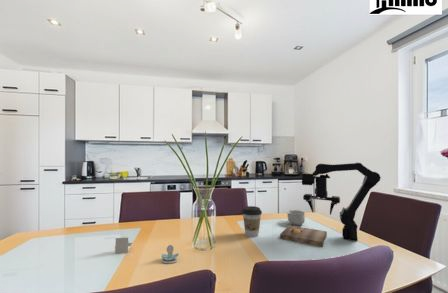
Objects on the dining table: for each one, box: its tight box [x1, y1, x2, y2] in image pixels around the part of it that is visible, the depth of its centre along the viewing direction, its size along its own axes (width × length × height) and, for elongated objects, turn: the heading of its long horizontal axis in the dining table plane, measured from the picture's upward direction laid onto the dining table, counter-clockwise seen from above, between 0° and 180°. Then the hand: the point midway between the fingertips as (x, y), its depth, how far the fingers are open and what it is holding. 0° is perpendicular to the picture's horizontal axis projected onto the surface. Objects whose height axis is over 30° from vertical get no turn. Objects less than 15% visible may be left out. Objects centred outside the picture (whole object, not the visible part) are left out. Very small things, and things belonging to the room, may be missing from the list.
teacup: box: [286, 209, 306, 227], centre depth 148 cm, size 14×11×8 cm
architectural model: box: [114, 236, 134, 255], centre depth 105 cm, size 3×7×7 cm, turn 98°
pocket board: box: [279, 224, 328, 248], centre depth 123 cm, size 21×18×2 cm
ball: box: [293, 229, 301, 234], centre depth 125 cm, size 4×4×4 cm
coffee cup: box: [241, 205, 263, 238], centre depth 127 cm, size 11×11×15 cm
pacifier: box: [160, 244, 180, 264], centre depth 96 cm, size 7×6×6 cm
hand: (321, 213), depth 127 cm, fingers open, 9 cm apart
